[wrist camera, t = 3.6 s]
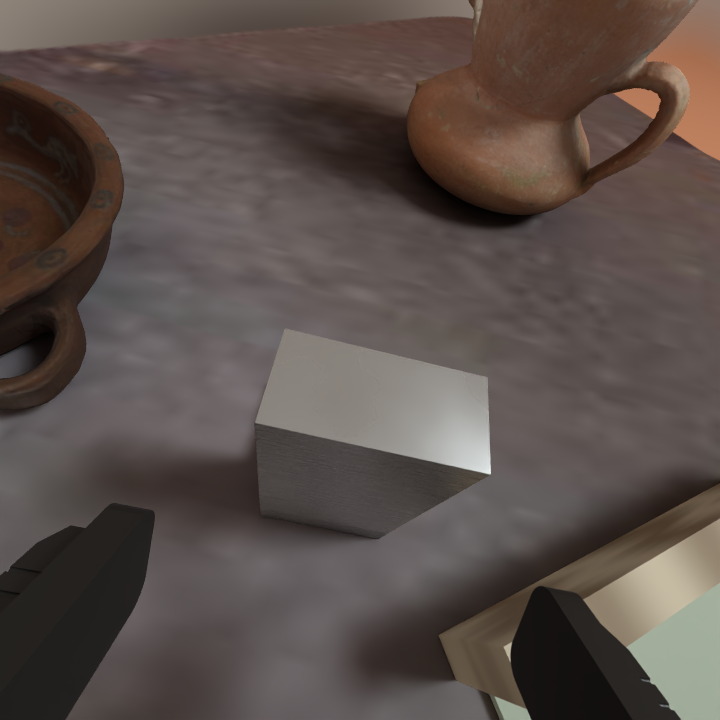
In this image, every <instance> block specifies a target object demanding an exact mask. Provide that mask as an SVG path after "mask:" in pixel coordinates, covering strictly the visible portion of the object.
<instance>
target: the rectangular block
mask: <svg viewBox="0 0 720 720" xmlns="http://www.w3.org/2000/svg"><path fill="white" fill-rule="evenodd" d="M255 434H256V450H257V467H258V484H259V500H260V516H264V517H269V518H274V519H279V520H284V521H289V522H294V523H299V524H304V525H310V526H315V527H320V528H325V529H330V530H335V531H340V532H345V533H350V534H355V535H360V536H365V537H370V538H375V539H379V538H381V537H382V536H384V535H386V534H388V533H389V532H391V531H393V530H395V529H396V528H398V527H400V526H402V525H403V524H405V523H407V522H409V521H410V520H412V519H414V518H416V517H417V516H419V515H421V514H423V513H424V512H426V511H428V510H430V509H431V508H433V507H435V506H437V505H438V504H440V503H442V502H444V501H445V500H447V499H449V498H450V497H452V496H454V495H456V494H457V493H459V492H461V491H463V490H464V489H466V488H468V487H470V486H471V485H473V484H475V483H477V482H478V481H480V480H482V479H484V478H485V477H487V476H489V475H491V468H490V438H489V408H488V378H487V377H483V376H479V375H475V374H471V373H467V372H463V371H459V370H454V369H450V368H446V367H442V366H438V365H434V364H430V363H426V362H421V361H417V360H413V359H409V358H405V357H401V356H397V355H392V354H388V353H384V352H380V351H376V350H372V349H368V348H364V347H359V346H355V345H351V344H347V343H343V342H339V341H335V340H331V339H326V338H322V337H318V336H314V335H310V334H306V333H302V332H297V331H293V330H289V329H285V330H284V333H283V337H282V340H281V343H280V346H279V349H278V352H277V355H276V358H275V361H274V365H273V368H272V371H271V374H270V377H269V380H268V383H267V386H266V390H265V393H264V396H263V399H262V402H261V405H260V408H259V411H258V415H257V418H256V421H255Z"/></svg>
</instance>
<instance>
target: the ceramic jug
mask: <svg viewBox="0 0 720 720" xmlns="http://www.w3.org/2000/svg"><path fill="white" fill-rule="evenodd" d="M697 2H698V0H469V3H470V4H471V6H472V7H473V9H474V18H473V35H472V60H471V63H470V64H467V65H465V66H462V67H459V68H456V69H453V70H450V71H446V72H444V73H441V74H439V75H437V76H435V77H433V78H430V79H427V80H422V81H418V82H417V84H416V92H415V96H414V97H413V99H412V101H411V104H410V107H409V110H408V116H407V134H408V140H409V144H410V147H411V150H412V152H413V154H414V156H415V158H416V160H417V161H418V163H419V164H420V166H421V167H422V168H423V170H424V171H425V172H426V173H427V174H428V175H429V176H430V177H431V178H432V179H433V180H434V181H435V182H436V183H437V184H438V185H440V186H441V187H442V188H444V189H445V190H446V191H448V192H449V193H451V194H453V195H454V196H456V197H458V198H459V199H461V200H463V201H465V202H467V203H470V204H472V205H474V206H477V207H480V208H483V209H486V210H490V211H494V212H498V213H503V214H511V215H533V214H539V213H544V212H548V211H551V210H553V209H555V208H557V207H559V206H561V205H563V204H565V203H567V202H568V201H570V200H571V199H574V198H576V197H578V196H580V195H582V194H584V193H586V192H587V191H588V190H589V189H590V188H591V187H593V185H594V184H595V183H596V182H598V181H600V180H602V179H604V178H606V177H608V176H611V175H613V174H615V173H617V172H619V171H621V170H623V169H625V168H628V167H630V166H632V165H634V164H636V163H638V162H639V161H640V160H641V159H643V158H645V157H646V156H647V155H649V154H651V153H652V151H654V150H655V149H656V148H657V147H658V146H660V145H661V144H662V143H663V142H664V141H665V140H666V139H667V138H668V136H669V135H670V134H671V133H672V132H673V130H674V129H675V128H676V126H677V125H678V123H679V122H680V121H681V119H682V117H683V115H684V113H685V111H686V108H687V105H688V102H689V94H690V91H689V85H688V82H687V80H686V78H685V76H684V75H683V73H682V72H681V71H680V70H679V69H678V68H677V67H675V66H673V65H671V64H668V63H664V62H647V61H646V58H647V56H648V55H649V54H650V53H651V52H652V51H653V50H654V49H655V48H656V47H658V45H659V44H660V43H661V42H662V41H663V40H664V39H666V38H667V36H668V35H669V34H670V33H671V32H672V31H673V30H674V29H675V28H676V26H677V25H678V24H679V23H680V22H681V21H682V20H683V19H684V17H685V16H686V15H687V14H688V13H689V11H690V10H691V9H692V8H693V7H694V5H695V4H696V3H697ZM632 88H641V89H646V90H652V91H653V92H655V93H657V94H658V96H659V98H660V99H661V103H660V105H659V111H658V112H657V114H656V117H655V118H654V120H653V121H652V122H651V123H650V124H649V127H648V128H647V129H646V130H645V132H644V133H643V134H642V135H640V137H639V138H638V139H637V140H636V141H634V142H633V143H632V144H630V145H629V146H628V147H626V148H625V149H623V150H622V151H620V152H618V153H617V154H615V155H613V156H612V157H610V158H609V159H607V160H605V161H604V162H602V163H600V164H598V165H596V166H595V167H593V168H591V169H590V168H589V163H590V152H589V145H588V141H587V138H586V135H585V132H584V130H583V128H582V125H581V120H580V112H581V111H582V110H583V109H584V108H585V107H587V106H588V105H589V104H591V103H592V102H593V101H594V100H596V99H597V98H599V97H600V96H603V95H606V94H610V93H616V92H620V91H623V90H627V89H632Z"/></svg>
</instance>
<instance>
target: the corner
mask: <svg viewBox="0 0 720 720" xmlns="http://www.w3.org/2000/svg"><path fill="white" fill-rule="evenodd" d="M719 583H720V483H719V484H717V485H715V486H714V487H712V488H710V489H708V490H706V491H704V492H702V493H701V494H699V495H697V496H695V497H693V498H691V499H689V500H688V501H686V502H684V503H682V504H680V505H678V506H676V507H675V508H673V509H671V510H669V511H667V512H665V513H664V514H662V515H660V516H658V517H656V518H654V519H652V520H651V521H649V522H647V523H645V524H643V525H641V526H639V527H638V528H636V529H634V530H632V531H630V532H628V533H626V534H625V535H623V536H621V537H619V538H617V539H615V540H614V541H612V542H610V543H608V544H606V545H604V546H602V547H601V548H599V549H597V550H595V551H593V552H591V553H589V554H588V555H586V556H584V557H582V558H580V559H578V560H576V561H575V562H573V563H571V564H569V565H567V566H565V567H564V568H562V569H560V570H558V571H556V572H554V573H552V574H551V575H549V576H547V577H545V578H543V579H541V580H539V581H538V582H536V583H534V584H532V585H530V586H528V587H526V588H525V589H523V590H521V591H519V592H517V593H515V594H514V595H512V596H510V597H508V598H506V599H504V600H502V601H501V602H499V603H497V604H495V605H493V606H491V607H489V608H488V609H486V610H484V611H482V612H480V613H478V614H476V615H475V616H473V617H471V618H469V619H467V620H465V621H464V622H462V623H460V624H458V625H456V626H454V627H452V628H451V629H449V630H447V631H445V632H443V633H441V634H439V638H440V640H441V643H442V645H443V648H444V650H445V653H446V656H447V658H448V661H449V663H450V666H451V668H452V671H453V673H454V676H455V679H456V681H458V682H461V683H463V684H466V685H468V686H470V687H473V688H475V689H478V690H480V691H483V692H485V693H488V694H490V695H493V696H495V697H498V698H500V699H503V700H505V701H507V702H510V703H512V704H515V705H517V706H520V707H522V708H525V709H527V708H526V706H525V704H524V701H523V699H522V696H521V694H520V692H519V689H518V687H517V684H516V682H515V679H514V677H513V673H512V668H511V660H510V652H511V645H512V641H513V639H514V636H515V634H516V631H517V629H518V626H519V624H520V621H521V619H522V616H523V614H524V611H525V609H526V606H527V604H528V601H529V599H530V596H531V594H532V592H533V590H534V589H535V588H536V587H538V586H544V587H550V588H555V589H560V590H565V591H571V592H575V593H577V594H578V595H579V596H581V598H582V599H583V600H584V601H585V603H586V604H587V606H588V607H589V608H590V610H591V611H592V612H593V614H594V615H595V617H596V618H597V619H598V621H599V622H600V623H601V625H603V626H604V627H605V628H606V629H607V630H608V631H609V632H610V633H611V634H612V635H614V636H615V637H616V638H617V639H618V640H619V641H620V642H621V643H622V644H623V645H624V646H625V647H627V646H629V645H630V644H632V643H633V642H634V641H636V640H637V639H639V638H640V637H642V636H643V635H645V634H646V633H648V632H649V631H650V630H652V629H653V628H655V627H656V626H658V625H659V624H661V623H662V622H664V621H665V620H666V619H668V618H669V617H671V616H672V615H674V614H675V613H677V612H678V611H680V610H681V609H682V608H684V607H685V606H687V605H688V604H690V603H691V602H693V601H694V600H695V599H697V598H698V597H700V596H701V595H703V594H704V593H706V592H707V591H709V590H710V589H711V588H713V587H714V586H716V585H717V584H719Z"/></svg>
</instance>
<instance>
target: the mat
mask: <svg viewBox="0 0 720 720" xmlns="http://www.w3.org/2000/svg"><path fill="white" fill-rule="evenodd" d="M626 648H627V649H628V650H629V651H630V652H631V653H632V655H633V656H634V657H635V659H636V660H637V661H638V663H639V664H640V665H641V667H642V668H643V669H644V671H645V672H646V673H647V675H648V676H649V677H650V682H651V684H655V685H656V687H657V688H658V689H659V691H660V692H661V693H662V695H663V696H664V697H665V699H666V700H667V701H668V703H669V707H670V709H671V710H674V711H675V712H676V713H677V715H678V716H679V717H680V719H681V720H720V583H719V584H717V585H716V586H714V587H713V588H711V589H710V590H709V591H707V592H706V593H704V594H703V595H701V596H700V597H698V598H697V599H695V600H694V601H693V602H691V603H690V604H688V605H687V606H685V607H684V608H682V609H681V610H680V611H678V612H677V613H675V614H674V615H672V616H671V617H669V618H668V619H666V620H665V621H664V622H662V623H661V624H659V625H658V626H656V627H655V628H653V629H652V630H650V631H649V632H648V633H646V634H645V635H643V636H642V637H640V638H639V639H637V640H636V641H634V642H633V643H632V644H630V645H629V646H627V647H626ZM489 695H490V694H489ZM490 697H491V700H492V702H493V704H494V707H495V709H496V712H497V714H498V716H499V719H500V720H531V718H530V716H529V713H528V711H527V709H525V708H522V707H520V706H517V705H515V704H512V703H510V702H507V701H505V700H503V699H500V698H498V697H495V696H493V695H490Z"/></svg>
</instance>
